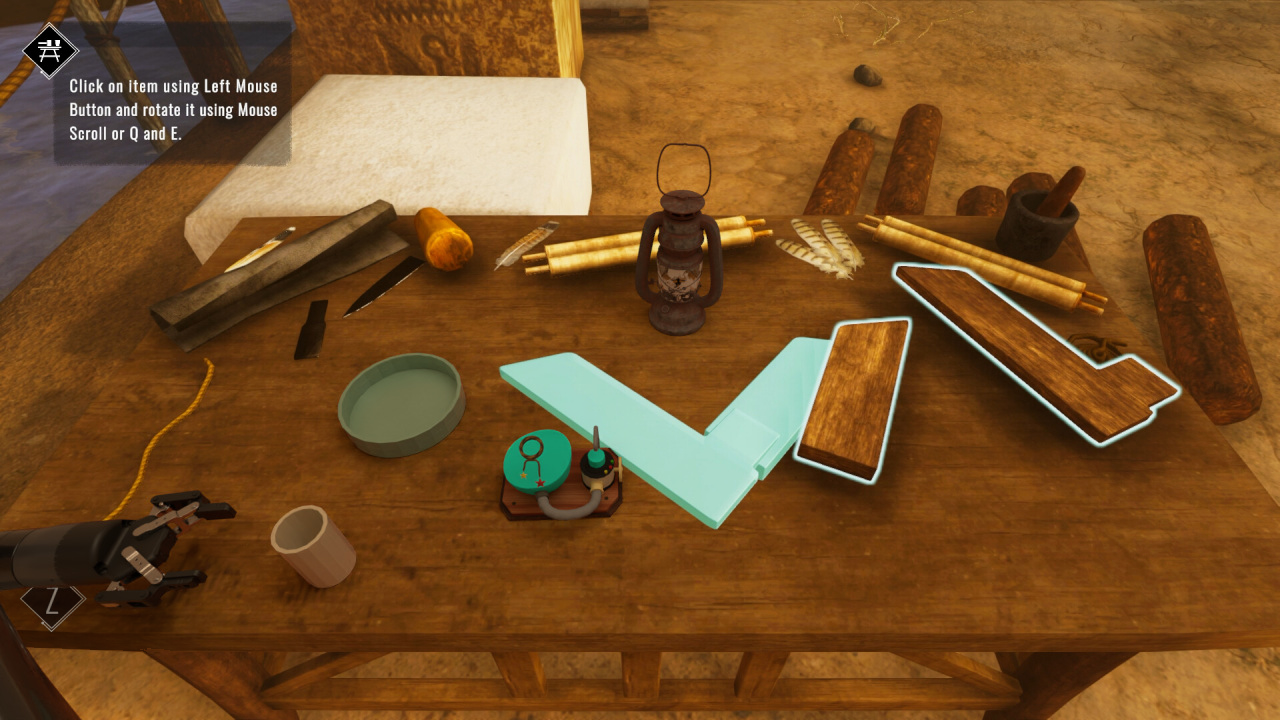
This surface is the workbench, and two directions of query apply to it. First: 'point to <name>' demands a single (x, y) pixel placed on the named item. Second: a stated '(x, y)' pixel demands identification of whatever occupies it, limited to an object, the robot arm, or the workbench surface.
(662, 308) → the lantern
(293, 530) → the cup
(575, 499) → the contraption on wooden base
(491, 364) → the workbench surface
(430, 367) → the bowl
